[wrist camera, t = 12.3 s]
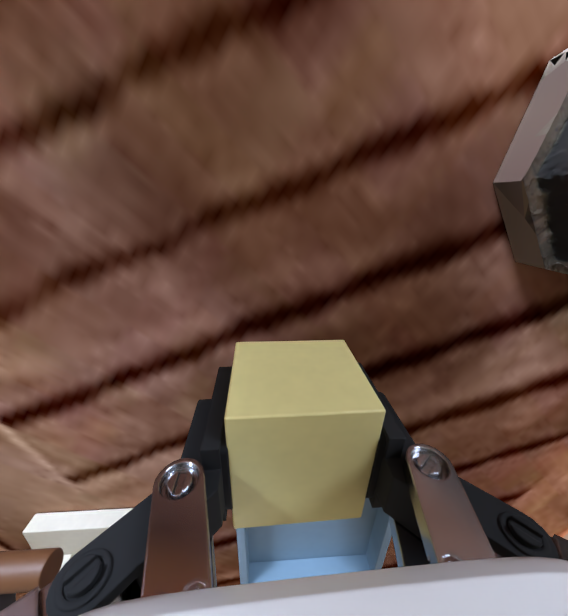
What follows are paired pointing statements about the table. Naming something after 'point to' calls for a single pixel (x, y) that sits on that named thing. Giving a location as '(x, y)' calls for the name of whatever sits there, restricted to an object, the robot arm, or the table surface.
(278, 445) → the butter
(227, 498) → the robot arm
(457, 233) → the table surface
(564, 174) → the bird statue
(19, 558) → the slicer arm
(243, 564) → the dish
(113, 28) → the table surface
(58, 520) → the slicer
